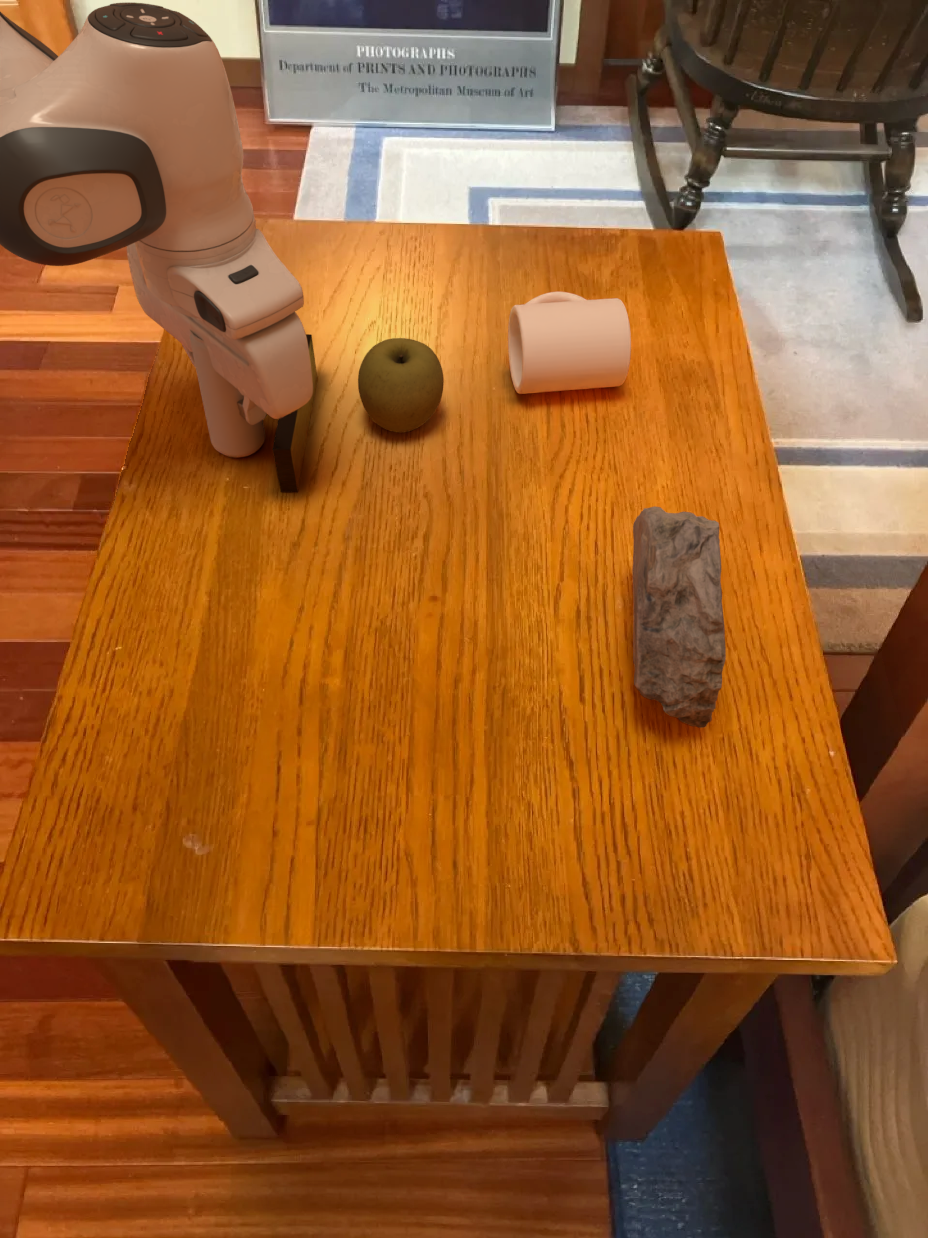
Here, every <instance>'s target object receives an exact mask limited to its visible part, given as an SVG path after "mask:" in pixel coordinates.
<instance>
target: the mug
mask: <svg viewBox="0 0 928 1238" xmlns="http://www.w3.org/2000/svg"><path fill="white" fill-rule="evenodd" d="M507 326H508V327H507V348H508V349H507V350H508V351H507V352H508V362H509V363H508V364H509V370H510V376H511V381H512V385H513V388H514V391H516V393H517V394H519V395H522V394H536V393H548V392H560V391H561V392H562V391H563V392H564V391H575V390H587V389H588V390H589V389H599V388H600V389H601V388H613V387H620V386H622V385H623V384H624V383H625V381H626V380H627V377H628V373H629V370H630V365H631V356H632V335H631V334H632V333H631V324H630V318H629V315H628V311H627V308H626V306H625V304H624V302H623V301H622V299H620V298H618V297H614V298H613V297H612V298H597V299H586V298H584V297H583V296H580V295H579V294H575V293H572V292H567V291H550V292H546V293H543V294H540V295H538V296H535V297H534V298H532V299H530V300H529V301H527V302H526V303H524V304H522V303H521V304H515V305H513V306H512V307H511V310H510V312H509V318H508V325H507Z"/></svg>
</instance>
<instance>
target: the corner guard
mask: <svg viewBox="0 0 928 1238" xmlns="http://www.w3.org/2000/svg"><path fill="white" fill-rule="evenodd" d="M306 337H307V342H308V348H309V354H310V362H311V370H312V380H313V394H312V397H311V399H310V400H309V401H308V402H307V403H306V404H305V405H304V406H302V407H301V408H299V409H297V410H296V411H294V412H292V413H290V414H288V415H286V416H284V417H282V418H280V419H277V424H276V429H275V434H274V439H273V444H272V449H271V450H272V455H273V458H274V459H273V460H274V466H275V470H276V475H277V480H278V485H279V491H280V493H298V492H299V488H300V481H301V476H302V471H303V470H302V469H303V464H304V458H305V451H306V446H307V442H308V441H307V440H308V436H309V429H310V424H311V423H310V422H311V417H312V411H313V406H314V400H315V394H316V387H317V382H318V373H317V365H316V358H315V357H316V356H315V351H314V343H313V335H312V334H310V333H309V334H307V333H306Z"/></svg>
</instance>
